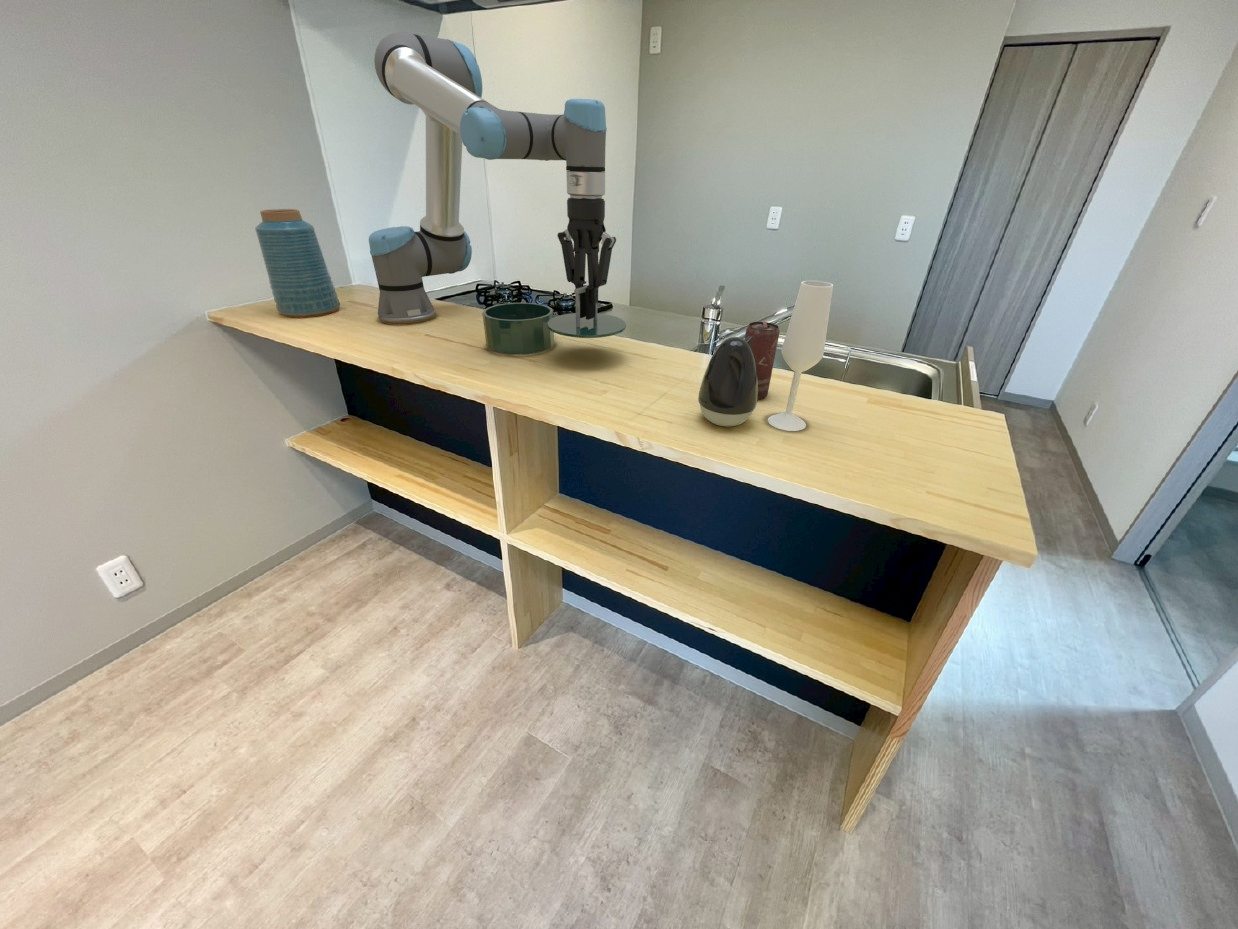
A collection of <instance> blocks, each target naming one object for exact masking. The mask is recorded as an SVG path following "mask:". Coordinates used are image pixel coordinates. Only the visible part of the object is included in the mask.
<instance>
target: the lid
mask: <svg viewBox="0 0 1238 929" xmlns="http://www.w3.org/2000/svg"><path fill="white" fill-rule="evenodd" d="M585 285H586V286H584V285H583V287H580V288H577V289H575V288H574V289H573V293H574V296H575V297H574V298H575V312H573V313H565V314H560V315H556V316H553V318H552V319H550V320H549V321H548V323H547V326H548V329H549V330H551V331H552V332H554V334H557V335H560V336H563V337H568V338H569V337H570V338H577V339H598V338H607V337H612V336H616V335H619V334H621V333H622V332H624V331H625V330H626V328H627V322H626V321H625V320H624V319H622V318H621V317H618V316H615V315H611V314H606V313H600V312H599V313H598V303H595V317H594V318H592V319H589V320H588V319H586V317H583V318H580V294H581V293H584V292H586V288H587V286H589V284H585ZM575 294H576V295H575Z"/></svg>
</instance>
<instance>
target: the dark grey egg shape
mask: <svg viewBox="0 0 1238 929" xmlns="http://www.w3.org/2000/svg"><path fill="white" fill-rule="evenodd" d="M752 341H753V337H752V336H749V337H747V338H746V339H745V338H742V337H739V336H731V337H728V338H725V339H723V340H722V341H721V342H720V344H718V346H717V348H716V349H715V350H714V352H713V354H712V356H711V358H710V360H709V361H708V364H707V367H706V369H705V371H704V373H703V376H702V379H701V383H700V387H699V390H698V395H697V396H698V397H697V402H698V403H699V407H700V408H699V409H700V412H701V413H702V415H703V416H704V418H705V419H706V420H707V421H708V422H710V423H712V424H713V425H716V426H720V427H729V428H730V427H736V426H740V425H741V424H744V422H745V423H746V421H747V420H749V418H750V417H751V416H752V414H753V413H754V412H753V411H754V410H755V409H756V407H757V404H758V400H757V397H758V380H757V370H756V364H755V359H754V355H753V352H752V349H751V347H750V344H751V343H752Z"/></svg>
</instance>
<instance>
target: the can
mask: <svg viewBox="0 0 1238 929" xmlns="http://www.w3.org/2000/svg"><path fill="white" fill-rule="evenodd" d="M749 336H752V337H753V341H752V343H751V344H750V347H751V349H752V352H753V355H754V359H755V364H756V370H757V380H758V397H757V401H758V400H763V399H765V398H766V397H767V396H768V393H769V389H770V385H771V379H772V373H773V368H774V365H775V364H774V363H775V357H776V353H777V348H778V343H779V338H780V329H779V325H777V323H772V322H768V321H766V320H765V321H764V320H763V321H752V322H750V323H748V326H746V328H745V334H744V340H745V339H746V338H747V337H749Z"/></svg>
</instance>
